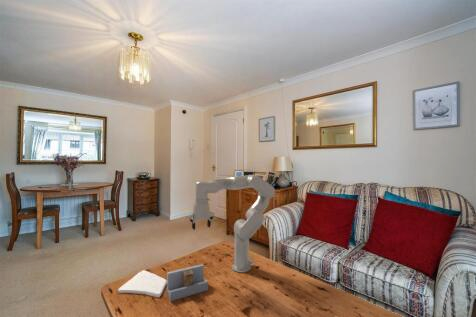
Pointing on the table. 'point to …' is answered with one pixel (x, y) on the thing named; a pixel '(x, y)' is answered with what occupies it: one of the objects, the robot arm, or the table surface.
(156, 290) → the flat white fragment
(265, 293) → the table surface
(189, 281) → the brown block
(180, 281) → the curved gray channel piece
